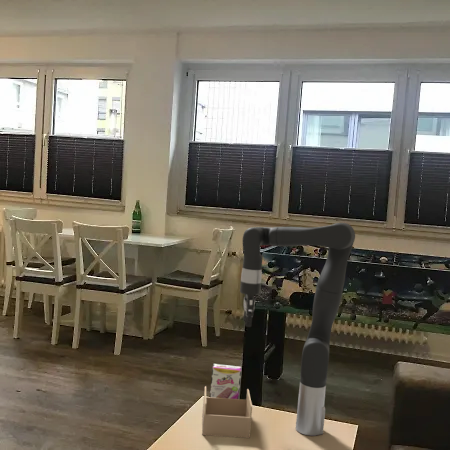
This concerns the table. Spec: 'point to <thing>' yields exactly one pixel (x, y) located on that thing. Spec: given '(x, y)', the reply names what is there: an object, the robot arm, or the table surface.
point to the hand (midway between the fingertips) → (247, 323)
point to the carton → (226, 416)
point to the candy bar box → (225, 381)
